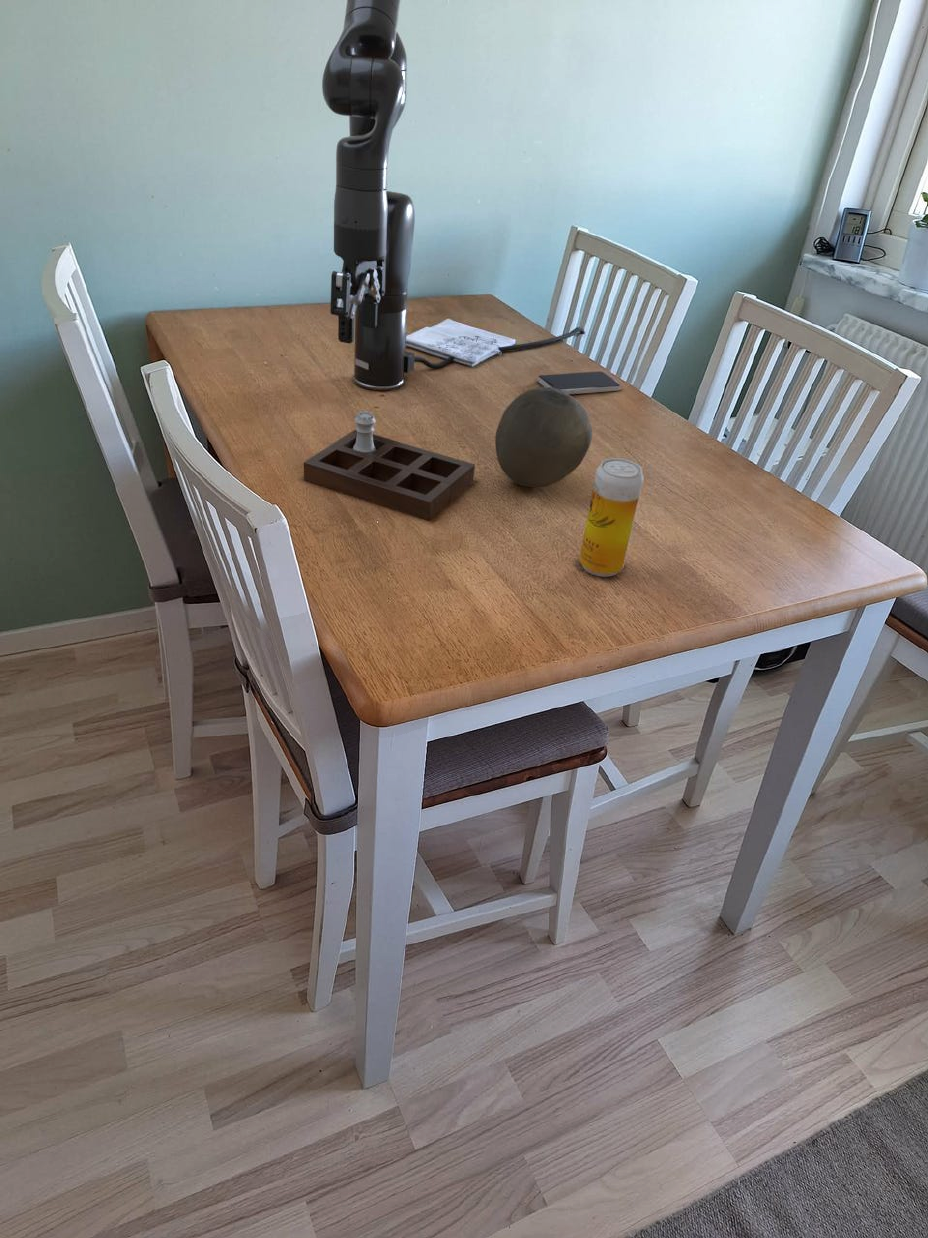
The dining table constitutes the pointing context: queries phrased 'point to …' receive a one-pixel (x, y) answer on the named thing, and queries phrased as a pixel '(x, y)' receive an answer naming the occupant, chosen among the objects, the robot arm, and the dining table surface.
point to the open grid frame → (391, 475)
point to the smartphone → (580, 382)
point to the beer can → (611, 516)
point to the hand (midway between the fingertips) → (358, 334)
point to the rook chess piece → (365, 432)
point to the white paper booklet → (458, 342)
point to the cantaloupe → (542, 437)
